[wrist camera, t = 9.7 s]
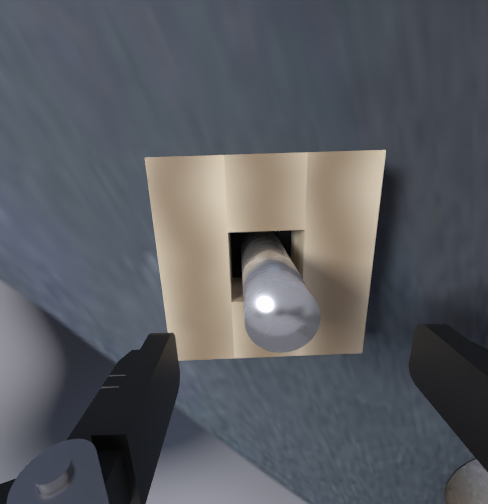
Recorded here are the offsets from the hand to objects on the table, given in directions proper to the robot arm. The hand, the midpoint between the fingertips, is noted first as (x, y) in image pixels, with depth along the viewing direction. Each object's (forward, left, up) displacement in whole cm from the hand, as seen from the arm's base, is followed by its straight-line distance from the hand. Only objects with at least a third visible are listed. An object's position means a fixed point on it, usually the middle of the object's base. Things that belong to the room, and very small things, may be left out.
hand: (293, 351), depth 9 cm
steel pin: (0, 0, -12) cm, 12 cm away
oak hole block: (0, 0, -12) cm, 12 cm away
